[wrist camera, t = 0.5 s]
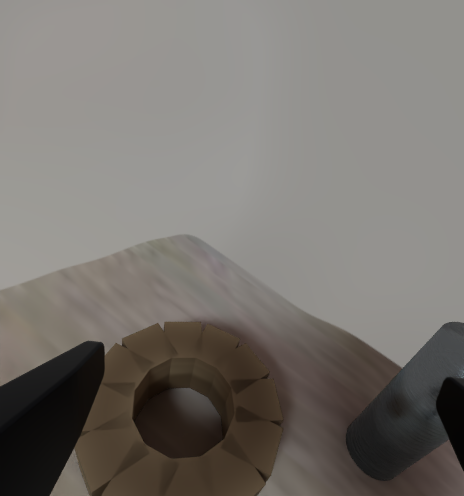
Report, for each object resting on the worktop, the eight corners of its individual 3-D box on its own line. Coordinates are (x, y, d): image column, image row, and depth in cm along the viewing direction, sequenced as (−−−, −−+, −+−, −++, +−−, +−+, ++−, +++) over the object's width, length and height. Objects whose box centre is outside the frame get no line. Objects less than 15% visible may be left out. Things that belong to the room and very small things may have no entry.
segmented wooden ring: (284, 533, 19) (306, 514, 16) (58, 565, 16) (45, 548, 14) (248, 352, 28) (259, 322, 26) (100, 353, 25) (97, 320, 23)
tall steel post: (411, 477, 23) (544, 390, 15) (360, 483, 22) (476, 393, 14) (383, 418, 26) (483, 322, 18) (337, 421, 25) (424, 321, 18)
